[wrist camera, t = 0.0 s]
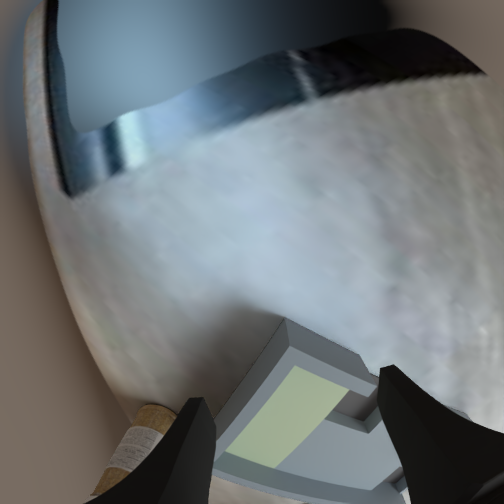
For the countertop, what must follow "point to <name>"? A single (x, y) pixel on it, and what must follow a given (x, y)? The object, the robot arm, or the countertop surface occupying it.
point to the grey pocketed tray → (309, 426)
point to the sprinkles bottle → (135, 445)
